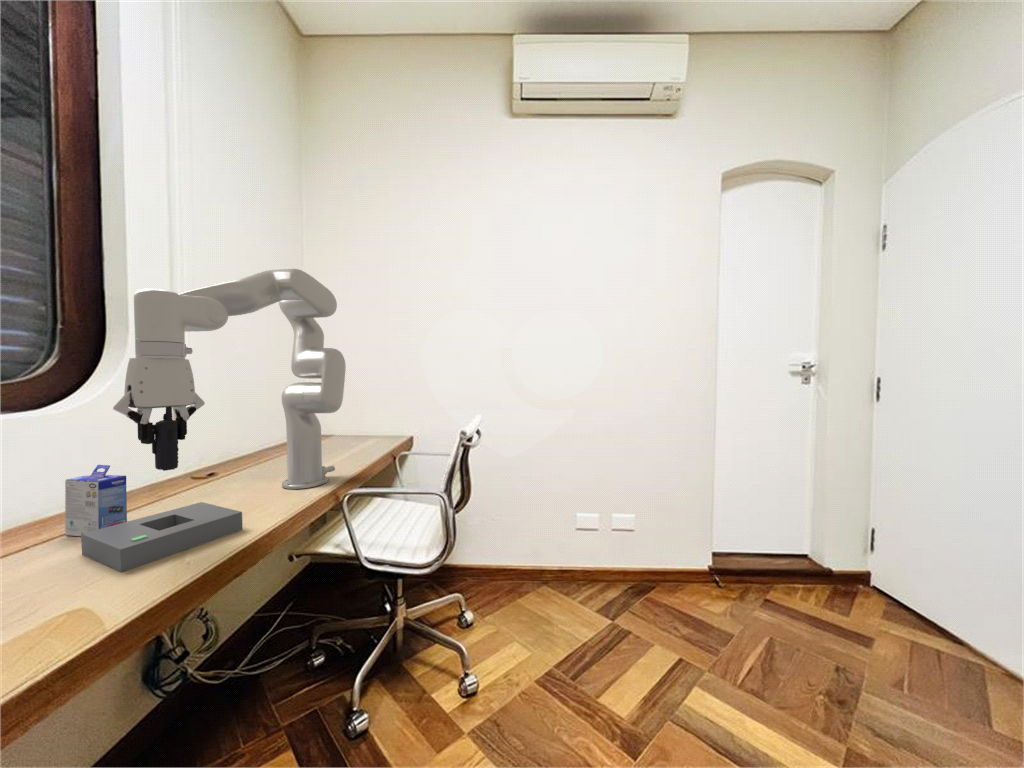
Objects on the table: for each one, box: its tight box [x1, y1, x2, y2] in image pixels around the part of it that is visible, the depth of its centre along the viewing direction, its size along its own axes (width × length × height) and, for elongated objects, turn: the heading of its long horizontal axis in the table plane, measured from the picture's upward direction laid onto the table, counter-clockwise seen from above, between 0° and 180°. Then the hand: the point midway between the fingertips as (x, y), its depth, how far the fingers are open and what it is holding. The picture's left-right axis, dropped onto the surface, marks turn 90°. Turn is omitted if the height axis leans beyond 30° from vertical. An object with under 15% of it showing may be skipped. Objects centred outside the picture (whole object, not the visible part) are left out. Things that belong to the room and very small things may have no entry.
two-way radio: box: [149, 407, 180, 472], centre depth 79 cm, size 6×4×15 cm
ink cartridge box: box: [64, 464, 128, 537], centre depth 85 cm, size 10×6×14 cm, turn 78°
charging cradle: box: [80, 501, 244, 573], centre depth 80 cm, size 20×16×4 cm
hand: (163, 440), depth 79 cm, fingers closed on two-way radio, 4 cm apart
